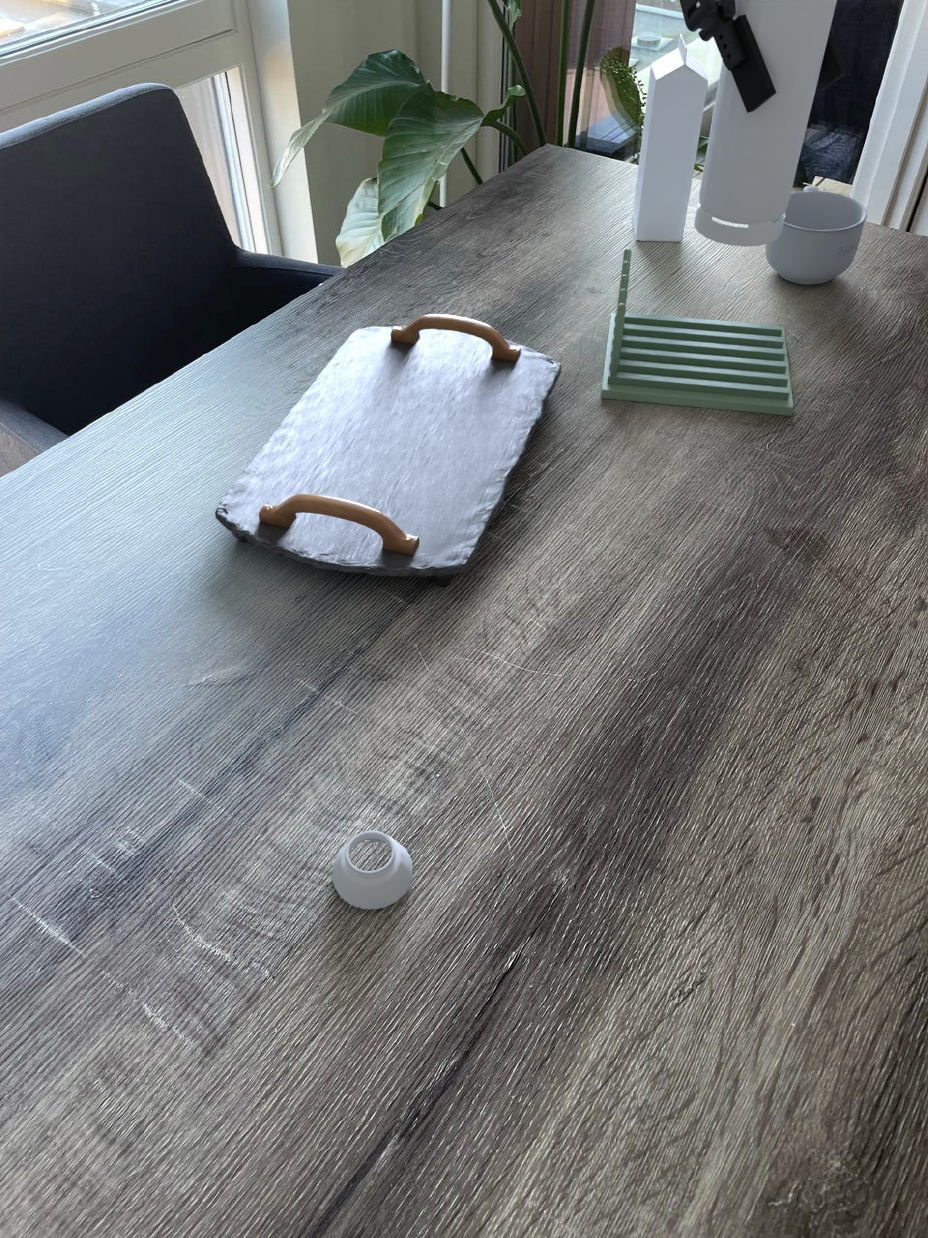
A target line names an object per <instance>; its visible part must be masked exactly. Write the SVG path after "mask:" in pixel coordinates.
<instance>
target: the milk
mask: <svg viewBox="0 0 928 1238" xmlns="http://www.w3.org/2000/svg"><path fill="white" fill-rule="evenodd" d="M708 86H709V79H708V76H707V75H706V73H705V70H704V67H703V64H701V62H699V61H697V60H696V59H695V58H694V57H692V56H691V55H690V54H688V48H687V45H686V43H685V40H684V38H683V35H682V34H681V33H680V34H679V40H678V46H677V48H675V49H674V50H672V51H670V52H669V53H666V54H665V55H664V56H661V57H660V58H659V59H656V60H655V61H653V62H652V63H651V64H650V69H649V79H648V85H647V94H646V103H645V109H644V119H643V126H642V134H641V143H640V149H639V150H640V151H639V159H638V166H637V173H636V182H635V191H634V199H633V206H632V214H631V224H632V223H633V225H632V229H634V230H633V234H634V239H635V240H634V241H636V240H640V241H639V242H672V243H673V242H677V243H679V242H680V243H681V242H683V239H684V233H685V226H686V220H687V214H688V207H689V203H690V197H691V191H692V190H691V189H692V183H693V178H694V172H695V166H696V159H697V154H698V148H699V141H700V135H701V128H702V122H703V116H704V112H705V111H704V110H705V104H706V99H707V94H708V93H707V92H708Z"/></svg>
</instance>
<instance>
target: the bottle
mask: <svg viewBox="0 0 928 1238" xmlns="http://www.w3.org/2000/svg"><path fill="white" fill-rule="evenodd" d="M837 2H838V0H735V8H736V14H735V16H734V17H733V19H734V20H735V19H736V18H737V17H738V16H741V15H745V14H746V17H747V20H748V22H749V24H750V27H751V29H752V32H753V34H754V37H755V39H756V42H757V44H758V47H759V49H760V52H761V55H762V57H763V60H764V62H765V65H766V67H767V70H768V72H769V75H770V77H771V80H772V82H773V85H774V88H775V90H776V94H774V95H773V96H772V97H771V98H769V99H768V100H767V101H766V102H764V103H763V104H762V105H761V106H759V107H758V108H757V109H756V110H755V111H753V112H749V113H747V111H746V108H745V106H744V103H743V101H742V98H741V96H740V93H739V91H738V88H737V86H736V83H735V81H734V78H733V76H732V73H731V71H728V69H727V68H726V67H725V65H724V62H723V60H721V66H720V72H719V78H718V82H717V83H718V84H717V90H716V95H715V101H714V106H713V113H712V119H711V123H710V124H711V125H710V129H709V135H708V140H707V147H706V153H705V158H704V164H703V170H702V176H701V182H700V186H699V187H700V188H699V196H698V203H696V211H695V217H694V224H693V225H694V228H695V230H696V231H697V233H699V234H700V235H702V236H703V237H704V238H706V239H709V240H711V241H713V242H715V243H719V244H723V245H727V246H734V247H745V248H746V247H759V246H765V245H766V244H768V243H771V242H773V241H775V240H776V239H778V237H779V236H780V235H781V233H782V228H783V224H784V220H785V211H786V209H787V206H788V203H789V199H790V195H791V193H792V191H793V187H794V182H795V178H796V174H797V170H798V164H799V161H800V156H801V152H802V148H803V144H804V141H805V135H806V131H807V128H808V123H809V119H810V114H811V111H812V106H813V102H814V98H815V94H816V90H817V88H816V86H817V82H818V78H819V73H820V69H821V65H822V61H823V57H824V52H825V48H826V44H827V40H828V36H829V31H830V27H831V25H832V23H833V20H834V19H833V18H834V15H835V9H836V6H837ZM713 218H715V219H717V220H720V221H722V222H726V223H731V224H737V225H748V226H747V227H742V226H733V225H729V224H724V223H721V222H718V221H716V220H713Z"/></svg>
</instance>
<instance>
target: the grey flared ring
mask: <svg viewBox="0 0 928 1238" xmlns="http://www.w3.org/2000/svg"><path fill="white" fill-rule="evenodd" d="M364 840H370V841H369V842H370V843H374V842H381V841H384V844H385V843H387V844H388V845H389V846H390V848H391V850H392V854H391V857H390V859H389V861H388V862H387V863H386V864H385V865H384V866H383V867H381V868H379V869H377V870H373V871H365V870H361V869H359V868H357V867H355V866H354V865H353V864H352V862H351V861H350V859H349V855H350V852H351V850H352V848H353V847H354V846H355V845H356V844H357V843H358V842H363V843H364ZM336 855H337V856H336V857H335V860H334V861H333V864H332V870H331V871H332V873H331V874H332V876H331V881H332V884H333V883H334V884H333V886H334V889H335V888H336V889H335V891H336V890H337V891H336V893H337V892H338V893H337V895H338V894H339V895H340V896H341V897H342V898H343V899H344V900H343V899H342V898H341V897H340V896H339V895H338V896H339V897H340V898H341V899H342V900H343V901H345V902H346V901H347V902H348V903H349V904H350V905H349V904H348V903H347V902H346V903H347V904H348V905H349V906H351V905H353V906H352V907H355V908H358V907H360V908H359V909H361V908H362V909H361V910H364V909H368V910H381V909H380V908H382V909H384V908H386V907H388V906H391V905H393V904H395V903H397V902H398V901H399V900H400V899H401V898H402V897H403V896H404V895H405V894H406V893H407V892H408V890H409V888H410V885H411V883H412V880H413V878H414V876H413V875H414V874H413V871H414V870H413V859H412V857H411V856H410V854H409V852H408V850H407V848H406V847H404V846H403V844H401V843H399V842H398V841H397V840H396V839H395V838H393V837H391V836H390V835H388V834H386V833H385V832H382V831H379V830H372V829H371V830H364V831H361V832H359V833H357V834H355V835H354V836H352V837H351V838H350V839H349V841H348V842H347V843H346V844H345V845H344V846H343V847H342V848H341V849H340V850H339V852H338V853H337V854H336Z"/></svg>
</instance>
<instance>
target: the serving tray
mask: <svg viewBox="0 0 928 1238" xmlns="http://www.w3.org/2000/svg"><path fill="white" fill-rule="evenodd" d="M561 374H562V364H561V363H560V362H559V361H558V360H556V359H554V357H551V356H550V355H548V354H544V353H541V352H538V351H536V350H534V349H532V348H530V347H528V346H526V345H523V344H520V343H516V342H513V341H511V340H508V339H506V338H505V337H504V336H503V335H502V334H501V333H500V332H499V331H498V330H497V329H495V328H494V327H492V326H491V325H490V324H488V323H484V322H483V321H479V320H477V319H473V318H469V317H464V316H459V315H454V314H453V315H452V314H443V313H430V314H429V313H427V314H423V315H420V316H418V317H416V318H414V320H412V321H411V322H409V324H407V325H395V326H394V325H393V326H379V325H374V326H367V327H363V328H357V329H356V330H354V331H353V332H352V333H351V334H350V335H348V338H347V339H346V340H345V342H344V343H343V344H342V345H341V346H340V347H339V348H338V349H337V350H336V352H335V354H334V355H333V356H332V358H331V359H329V361H328V363H327V364H326V365H325V366H324V368H323V369H322V370H321V371H320V373H319V374H318V376H317V377H316V379H315V381H313V383H312V384H310V386H309V387H308V389H307V390H305V392H303V394H302V395H301V397H300V398H299V400H298V401H297V403H296V404H295V405H294V406H292V408H291V409H290V411H289V412H288V414H287V415H286V416H285V417H284V418H283V419H282V420H281V422H280V424H279V425H278V427H276V429H275V430H274V431H273V432H272V434H271V435H270V437H269V438H268V440H266V442H265V443H264V445H263V446H262V447H261V449H260V450H259V451H258V453H257V454H255V456H254V457H253V458H252V459H251V461H250V462H249V464H248V465H247V466H246V467H245V469H244V470H243V472H242V473H241V474H240V475H239V476H238V478H236V480H235V481H234V482H233V484H232V486H231V488H230V489H229V490H228V491H227V492H226V493H225V495H224V496H223V497H222V498H221V499H220V501H219V503H218V505H217V508H216V510H215V513H214V517H215V519H216V520H217V521H218V522H219V523H220V524H221V525H222V526H223V527H224V528H226V529H227V530H228V531H230V533H231V535H232V536H233V537H234V538H235V539H236V540H237V541H238V542H240V543H250V544H252V545H254V546H256V547H258V548H260V549H262V550H264V551H266V552H268V553H271V554H276V555H280V556H282V557H285V558H287V559H289V560H292V561H293V560H294V561H295V562H299V563H302V564H304V565H307V566H309V567H310V566H311V567H314V568H318V569H322V570H328V571H332V572H333V571H334V572H342V573H347V574H361V575H368V576H369V575H370V576H378V577H384V578H386V577H387V578H406V577H417V578H425V577H430V579H431V580H432V582H433V583H434V585H436V586H437V587H440V588H446V587H448V586H451V583H453V581H454V579H455V578H456V574H459V573H462V572H464V571H466V570H468V568H469V567H470V565H471V564H472V563H473V561H474V559H475V557H476V555H477V554H478V551H479V548H480V546H481V544H482V542H483V540H484V538H485V536H486V534H487V531H488V530H489V528H490V525H491V524H492V521H493V519H494V517H495V515H496V514H497V511H498V510H499V508H500V507H501V505H503V502H504V498H505V494H506V490H507V488H508V484H509V481H510V479H511V477H512V476H513V475H514V474H515V472H516V471H517V470H518V468H519V467H520V465H521V462H522V460H523V459H524V458H525V455H526V449H527V447H528V445H529V444H530V441H531V437H532V435H533V433H534V432H536V430H537V429H538V426H539V424H541V423H542V421H543V417H544V410H545V405H546V404H547V403H548V402H549V400H550V395H552V392H553V390H554V389H555V386H556V384H557V382H558V381H559V378H560V376H561Z"/></svg>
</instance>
